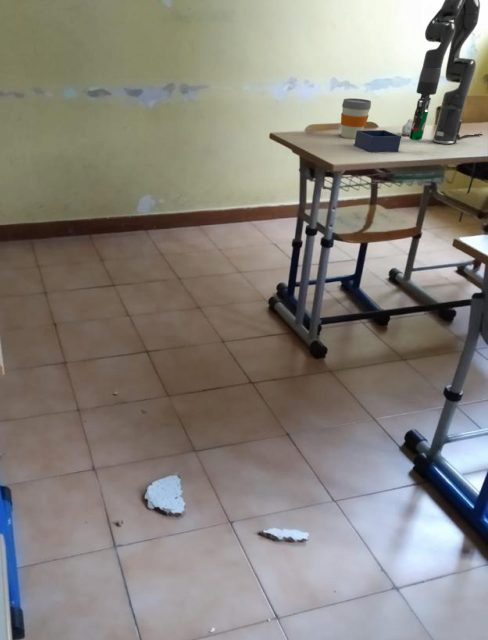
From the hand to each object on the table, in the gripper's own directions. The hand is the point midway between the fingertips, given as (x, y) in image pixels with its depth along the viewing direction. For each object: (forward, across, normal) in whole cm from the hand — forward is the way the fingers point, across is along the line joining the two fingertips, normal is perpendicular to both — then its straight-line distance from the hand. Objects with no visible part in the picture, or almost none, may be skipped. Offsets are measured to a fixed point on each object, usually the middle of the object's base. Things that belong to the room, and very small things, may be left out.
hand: (418, 126), depth 248 cm
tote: (+10, -2, +15) cm, 18 cm away
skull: (+10, +39, +9) cm, 41 cm away
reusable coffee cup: (+10, +16, +31) cm, 36 cm away
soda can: (+5, 0, 0) cm, 5 cm away
